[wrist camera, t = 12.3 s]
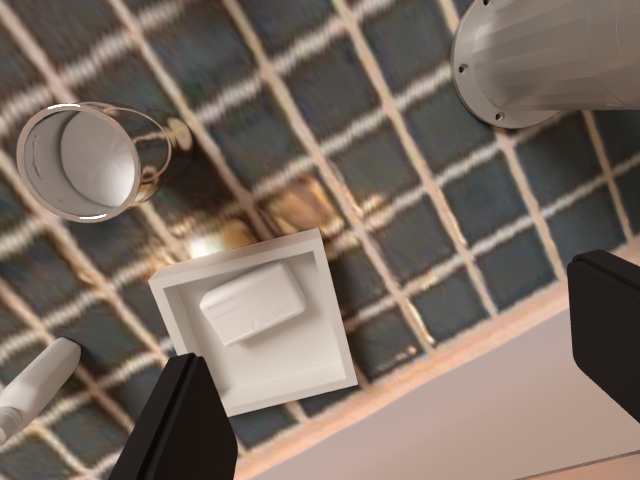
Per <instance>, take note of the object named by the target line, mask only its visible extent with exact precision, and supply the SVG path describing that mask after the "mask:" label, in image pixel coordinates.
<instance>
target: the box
mask: <svg viewBox="0 0 640 480" xmlns="http://www.w3.org/2000/svg"><path fill="white" fill-rule="evenodd" d="M278 259H284V260H285V262H286V263H287V265H288V267H289V269H290V271H291V272H292V274H293V276H294V278H295V280H296V282H297V283H298V285H299V287H300V289H301V291H302V293H303V295H304V297H305V302H306V309H305V311H304V312H303V313H301V314H299V315H297V316H295V317H293V318H291V319H289V320H286V321H284V322H282V323H280V324H278V325H275V326H274V327H271V328H269V329H267V330H265V331H263V332H260V333H258V334H256V335H254V336H252V337H250V338H248V339H245V340H243V341H241V342H239V343H237V344H235V345H232V346H230V347H226V346H224V345H223V344H222V341H221V340H220V338H219V337H218V335H217V333H216V332H215V330H214V329H213V327H212V326H211V324H210V322H209V321H208V320H207V319H206V317H205V316H204V314H203V312H202V311H201V309H200V302H201V300H202V298H203V296H204V294H205V293H207V292H208V291H211V290H213V289H215V288H217V287H219V286H221V285H223V284H225V283H227V282H229V281H232V280H234V279H236V278H238V277H240V276H242V275H244V274H246V273H248V272H250V271H253V270H255V269H257V268H259V267H261V266H263V265H265V264H267V263H269V262H272V261H274V260H278ZM148 282H149V285H150V287H151V290H152V292H153V295H154V297H155V300H156V302H157V305H158V307H159V310H160V312H161V315H162V317H163V320H164V322H165V325H166V327H167V330H168V332H169V335H170V337H171V340H172V342H173V345H174V347H175V350H176V352H177V355H178V356H179V355H183V354H187V353H191V352H193V353H195V354H196V355H197V357H199V356H203V357H204V359H205V361H206V363H207V366H208V368H209V371H210V373H211V376H212V379H213V381H214V384H215V386H216V389H217V391H218V394H219V396H220V399H221V401H222V404H223V407H224V409H225V412H226V414H227V417H229V416H233V415H237V414H241V413H245V412H249V411H253V410H257V409H261V408H265V407H269V406H273V405H278V404H282V403H286V402H290V401H294V400H298V399H302V398H306V397H310V396H314V395H318V394H322V393H326V392H330V391H334V390H338V389H342V388H346V387H350V386H354V385H358V382H357V378H356V374H355V370H354V366H353V362H352V358H351V354H350V350H349V346H348V342H347V338H346V334H345V330H344V326H343V322H342V318H341V314H340V310H339V306H338V302H337V298H336V294H335V290H334V286H333V282H332V278H331V274H330V270H329V266H328V262H327V258H326V254H325V250H324V246H323V242H322V238H321V234H320V230H319V227H318V228H314V229H310V230H306V231H302V232H298V233H294V234H290V235H286V236H282V237H278V238H274V239H270V240H266V241H262V242H258V243H254V244H250V245H246V246H242V247H238V248H234V249H230V250H226V251H222V252H218V253H214V254H210V255H206V256H202V257H199V258H195V259H191V260H187V261H183V262H179V263H175V264H171V265H167V266H163V267H160V268H159V269H158V270H157V271H156V272H155V273H154V275H153V276H152V277H151V278H150V279H149V281H148Z"/></svg>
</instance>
